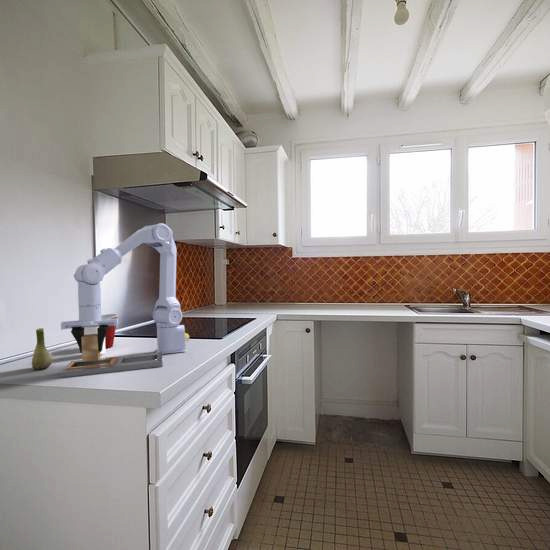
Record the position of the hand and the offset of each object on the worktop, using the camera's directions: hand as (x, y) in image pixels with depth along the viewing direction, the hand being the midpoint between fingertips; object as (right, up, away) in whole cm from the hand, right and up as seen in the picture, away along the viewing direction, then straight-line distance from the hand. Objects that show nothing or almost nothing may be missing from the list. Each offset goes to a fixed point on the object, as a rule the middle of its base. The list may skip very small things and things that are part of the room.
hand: (91, 351), depth 98 cm
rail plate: (+6, -5, +2) cm, 8 cm away
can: (-8, -5, +17) cm, 20 cm away
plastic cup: (-11, -5, +28) cm, 30 cm away
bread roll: (+14, -4, +38) cm, 41 cm away
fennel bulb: (-16, -6, +2) cm, 17 cm away
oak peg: (0, -2, 0) cm, 2 cm away
